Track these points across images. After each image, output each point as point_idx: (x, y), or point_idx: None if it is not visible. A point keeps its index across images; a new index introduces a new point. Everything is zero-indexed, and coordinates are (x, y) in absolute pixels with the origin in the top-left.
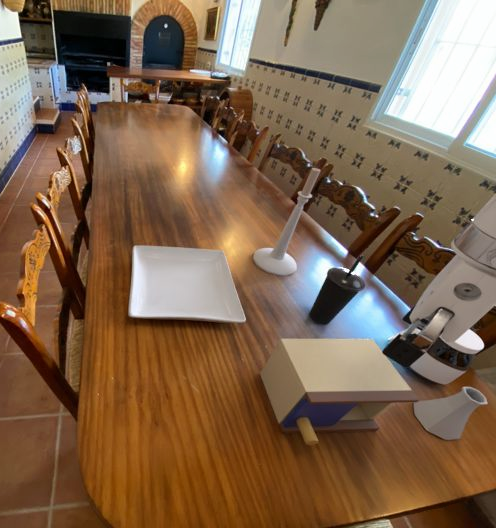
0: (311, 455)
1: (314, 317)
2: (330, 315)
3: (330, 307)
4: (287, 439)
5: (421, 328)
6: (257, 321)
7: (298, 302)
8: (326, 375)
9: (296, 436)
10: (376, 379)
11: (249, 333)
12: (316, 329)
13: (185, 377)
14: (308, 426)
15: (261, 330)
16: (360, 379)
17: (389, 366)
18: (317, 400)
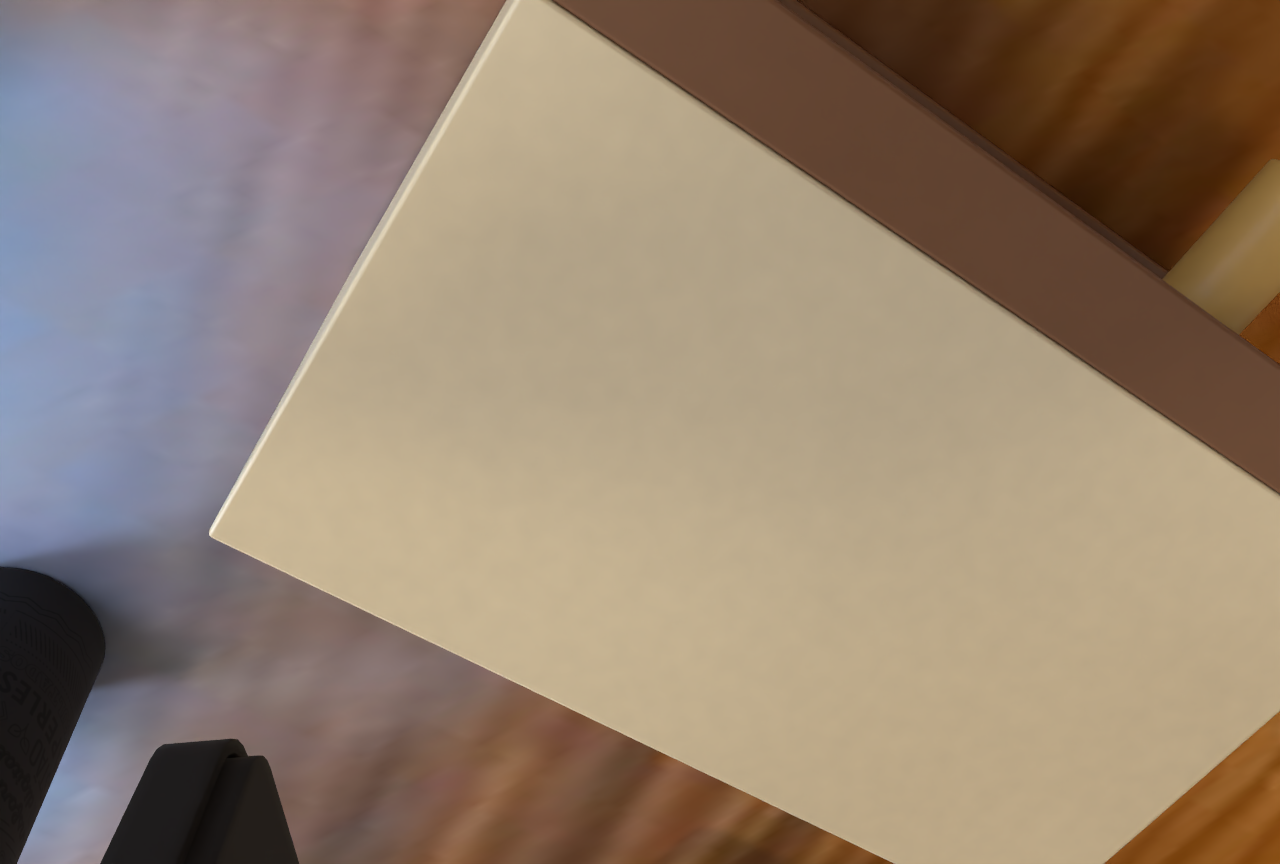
0: (1172, 80)
1: (94, 672)
2: (7, 668)
3: (4, 764)
4: (1187, 235)
5: (268, 833)
6: (528, 819)
7: (57, 784)
8: (1112, 578)
9: (1122, 211)
10: (742, 292)
11: (669, 787)
12: (153, 584)
13: (1271, 778)
14: (1261, 281)
15: (571, 766)
16: (888, 386)
17: (424, 279)
18: None
